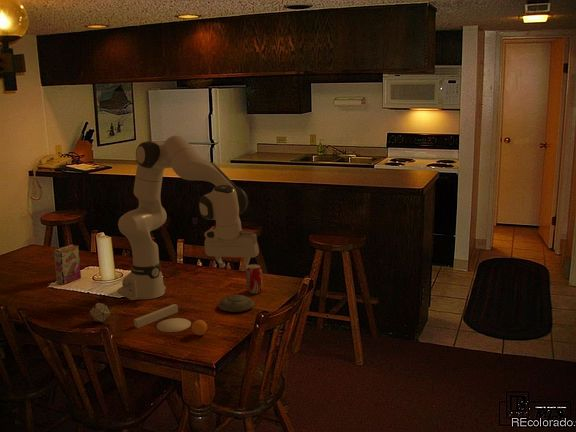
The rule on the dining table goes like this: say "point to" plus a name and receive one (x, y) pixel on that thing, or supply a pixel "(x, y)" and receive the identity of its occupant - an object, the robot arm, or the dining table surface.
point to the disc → (173, 325)
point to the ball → (199, 327)
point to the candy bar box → (67, 264)
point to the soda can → (254, 279)
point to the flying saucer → (236, 303)
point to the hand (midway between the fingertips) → (234, 267)
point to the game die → (100, 312)
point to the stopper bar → (155, 315)
